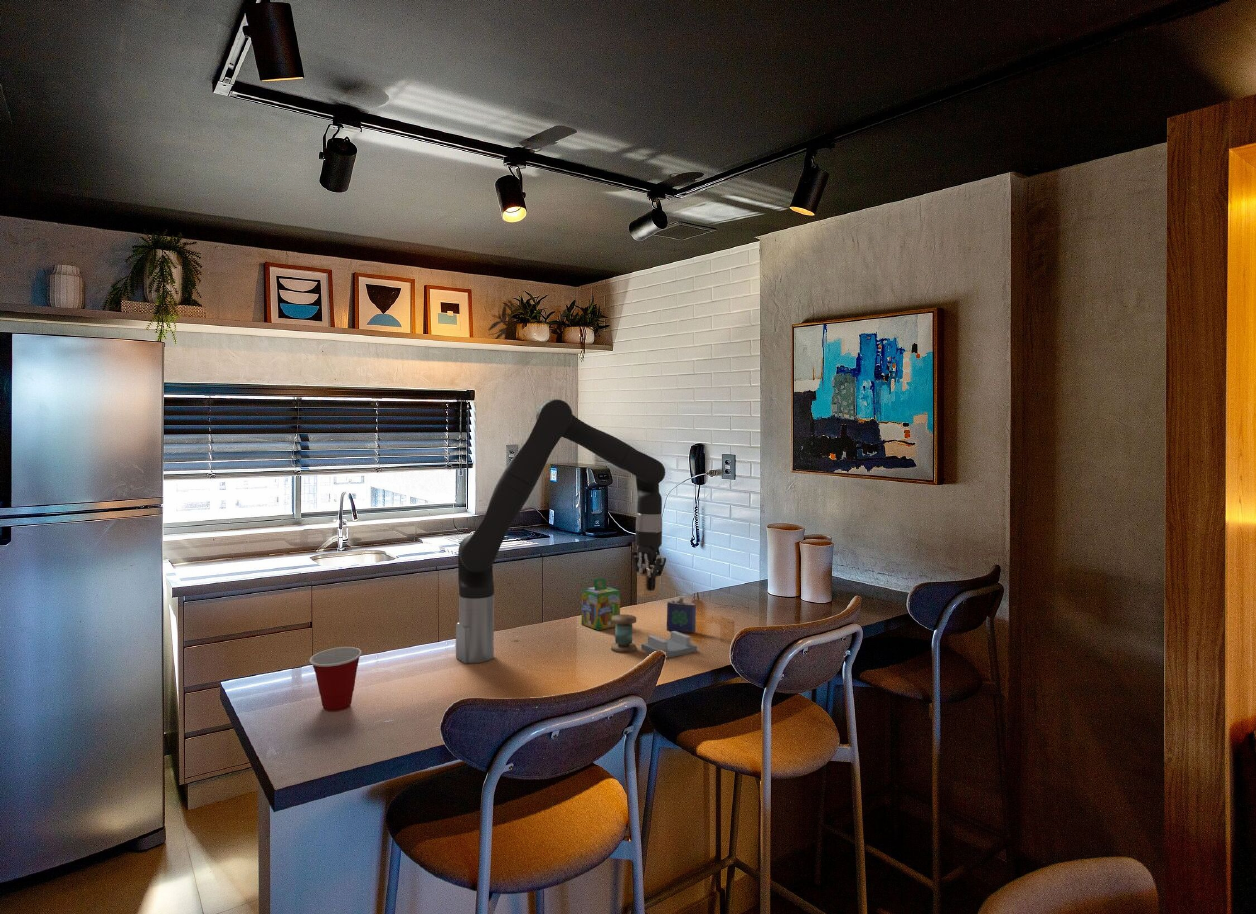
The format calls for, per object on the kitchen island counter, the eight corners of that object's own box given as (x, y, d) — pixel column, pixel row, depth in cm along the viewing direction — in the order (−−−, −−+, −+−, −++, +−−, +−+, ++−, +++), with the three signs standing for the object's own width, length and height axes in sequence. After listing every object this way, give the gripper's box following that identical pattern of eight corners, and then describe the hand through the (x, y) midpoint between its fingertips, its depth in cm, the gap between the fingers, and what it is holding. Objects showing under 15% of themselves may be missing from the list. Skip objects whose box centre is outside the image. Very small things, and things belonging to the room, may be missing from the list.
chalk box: (597, 631, 227) (598, 583, 227) (580, 624, 234) (580, 578, 234) (621, 626, 233) (621, 579, 233) (603, 620, 240) (603, 574, 240)
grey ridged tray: (663, 658, 201) (663, 644, 201) (641, 649, 210) (641, 635, 209) (696, 651, 208) (697, 637, 208) (674, 642, 217) (674, 629, 216)
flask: (696, 632, 228) (696, 597, 227) (693, 634, 225) (694, 599, 225) (668, 628, 231) (668, 594, 231) (664, 631, 229) (665, 596, 228)
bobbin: (620, 654, 205) (620, 622, 204) (606, 647, 210) (606, 616, 210) (640, 650, 209) (641, 618, 208) (626, 643, 215) (626, 613, 214)
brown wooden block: (643, 597, 209) (644, 576, 209) (637, 595, 212) (637, 574, 211) (657, 594, 212) (657, 574, 212) (651, 592, 215) (651, 572, 214)
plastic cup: (300, 707, 164) (300, 653, 164) (347, 694, 172) (347, 643, 172) (323, 720, 157) (323, 664, 156) (371, 706, 165) (370, 653, 164)
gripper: (623, 526, 214) (622, 586, 215) (654, 533, 203) (652, 595, 204) (644, 525, 219) (642, 583, 220) (674, 531, 208) (673, 592, 208)
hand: (647, 588), depth 212 cm, fingers closed on brown wooden block, 2 cm apart
